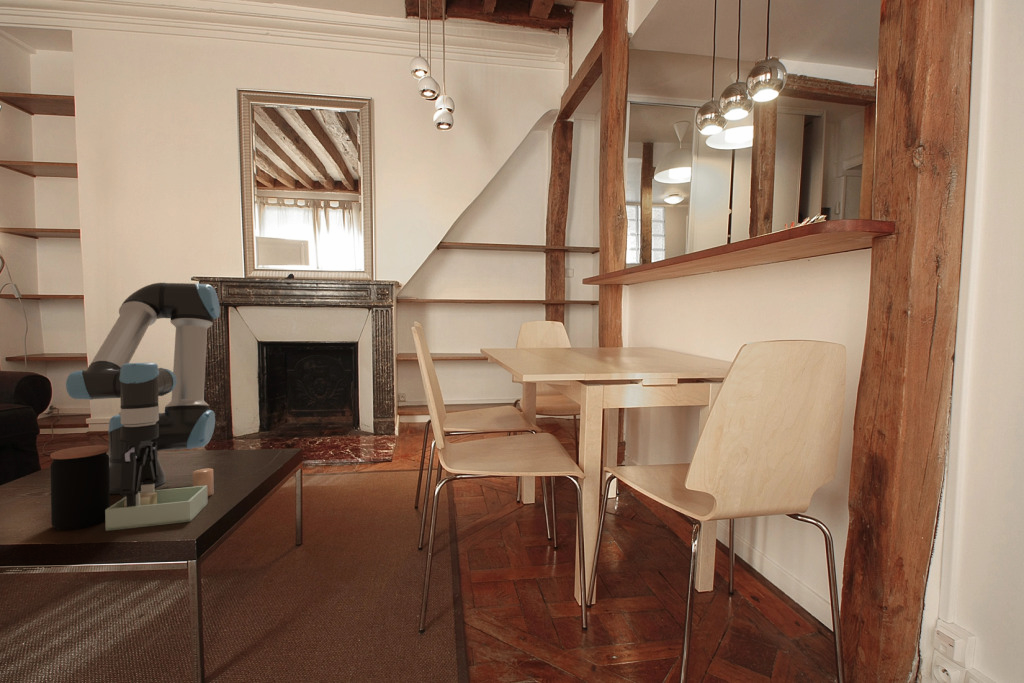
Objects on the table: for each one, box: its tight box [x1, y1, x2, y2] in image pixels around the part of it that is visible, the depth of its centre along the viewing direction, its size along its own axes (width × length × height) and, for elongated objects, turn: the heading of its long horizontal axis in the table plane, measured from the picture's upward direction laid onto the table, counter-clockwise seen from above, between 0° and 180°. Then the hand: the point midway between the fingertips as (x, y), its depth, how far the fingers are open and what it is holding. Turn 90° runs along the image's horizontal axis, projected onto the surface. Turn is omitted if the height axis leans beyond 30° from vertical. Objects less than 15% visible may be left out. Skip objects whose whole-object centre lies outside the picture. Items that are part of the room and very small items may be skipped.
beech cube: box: [124, 492, 157, 507], centre depth 117 cm, size 5×5×5 cm
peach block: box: [192, 467, 215, 497], centre depth 135 cm, size 5×5×7 cm
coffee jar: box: [50, 444, 111, 531], centre depth 115 cm, size 11×11×18 cm
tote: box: [104, 486, 209, 532], centre depth 118 cm, size 13×17×5 cm
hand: (140, 515), depth 117 cm, fingers open, 7 cm apart
